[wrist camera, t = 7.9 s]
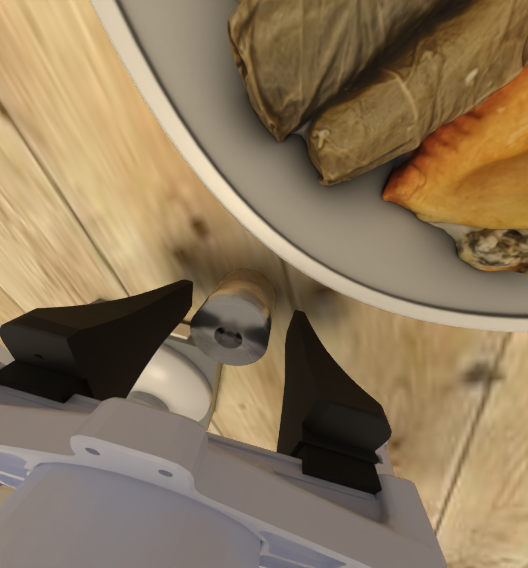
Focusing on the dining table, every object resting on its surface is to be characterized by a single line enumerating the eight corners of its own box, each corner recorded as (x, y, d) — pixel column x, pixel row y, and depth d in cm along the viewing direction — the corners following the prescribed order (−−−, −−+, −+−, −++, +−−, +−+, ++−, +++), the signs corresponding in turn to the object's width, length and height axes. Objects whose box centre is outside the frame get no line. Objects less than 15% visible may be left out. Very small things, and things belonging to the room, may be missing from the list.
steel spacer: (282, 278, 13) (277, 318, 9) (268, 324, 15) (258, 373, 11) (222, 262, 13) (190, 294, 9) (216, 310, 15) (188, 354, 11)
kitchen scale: (227, 331, 16) (215, 357, 14) (214, 411, 22) (204, 439, 20) (96, 294, 16) (61, 313, 14) (120, 384, 23) (99, 408, 20)
